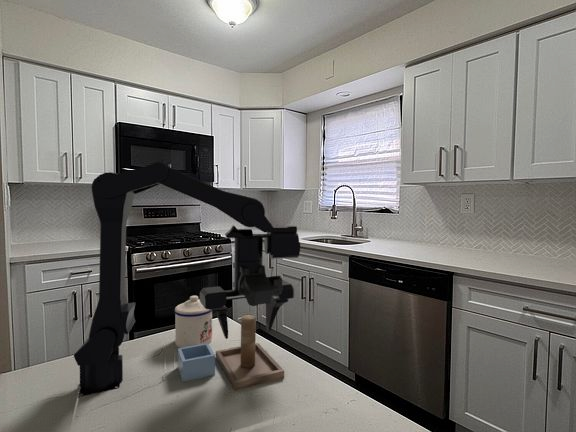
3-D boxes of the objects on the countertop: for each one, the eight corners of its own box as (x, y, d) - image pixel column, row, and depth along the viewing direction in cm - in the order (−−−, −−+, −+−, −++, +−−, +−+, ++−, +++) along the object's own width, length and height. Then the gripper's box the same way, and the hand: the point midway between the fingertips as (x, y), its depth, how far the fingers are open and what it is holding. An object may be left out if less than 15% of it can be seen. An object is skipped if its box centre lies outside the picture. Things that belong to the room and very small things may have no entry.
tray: (234, 393, 60) (234, 382, 60) (215, 360, 72) (215, 351, 72) (284, 380, 64) (284, 370, 64) (258, 351, 77) (258, 342, 77)
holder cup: (182, 385, 62) (182, 361, 62) (177, 369, 68) (177, 348, 68) (215, 377, 65) (215, 355, 65) (207, 363, 71) (207, 343, 71)
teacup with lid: (207, 352, 76) (207, 302, 76) (168, 351, 76) (168, 301, 76) (219, 331, 88) (219, 288, 88) (185, 331, 88) (185, 288, 88)
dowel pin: (243, 369, 66) (243, 321, 66) (238, 363, 69) (239, 316, 69) (257, 366, 68) (257, 319, 67) (252, 360, 70) (252, 314, 70)
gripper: (212, 270, 56) (212, 360, 57) (307, 262, 64) (306, 341, 65) (199, 259, 66) (199, 336, 67) (283, 254, 74) (282, 322, 75)
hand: (248, 334), depth 68 cm, fingers open, 9 cm apart
